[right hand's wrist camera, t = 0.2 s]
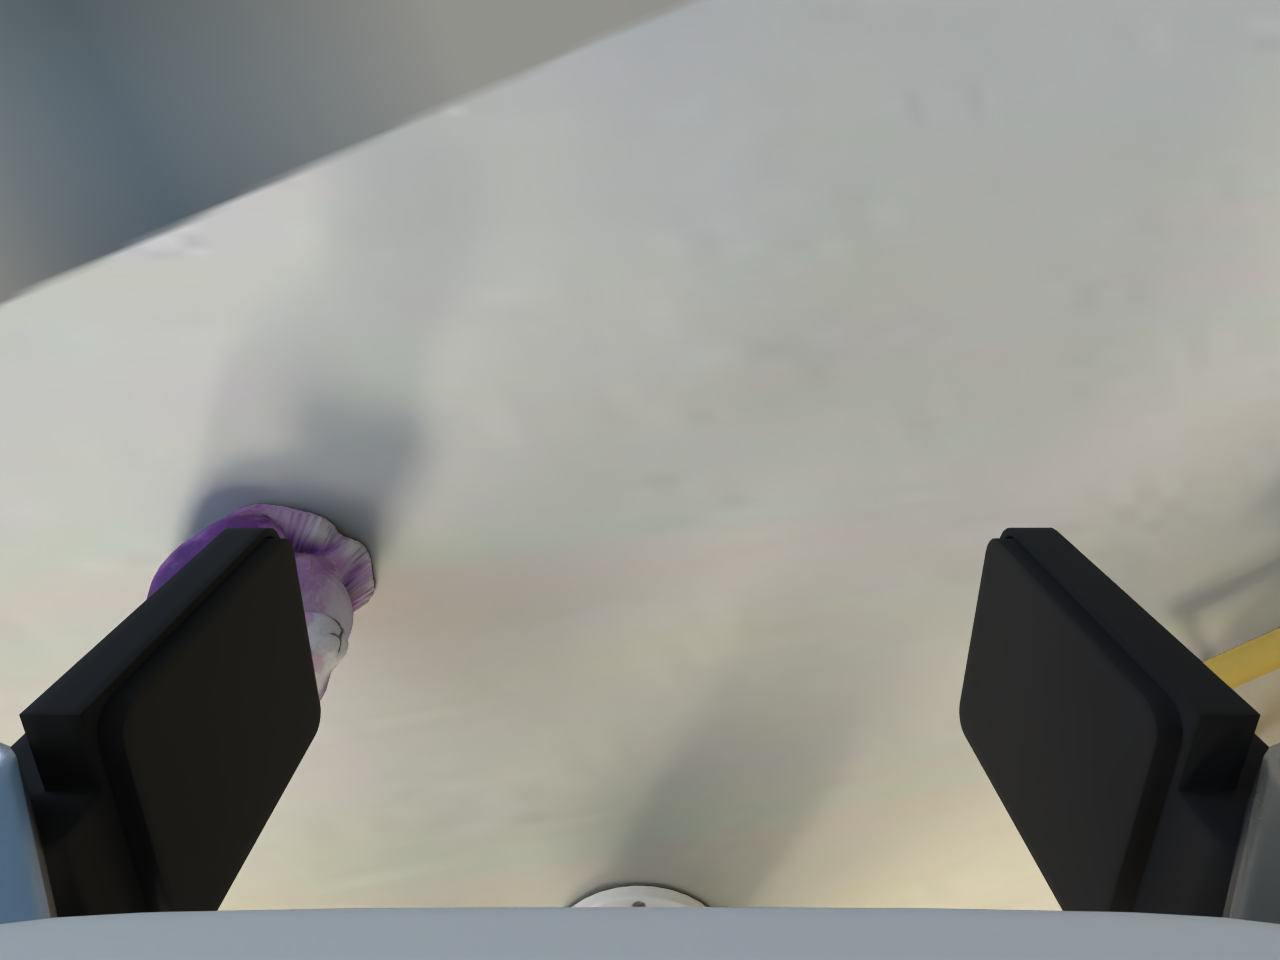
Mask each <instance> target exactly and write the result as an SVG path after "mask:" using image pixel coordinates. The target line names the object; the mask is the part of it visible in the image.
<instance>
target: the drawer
mask: <svg viewBox="0 0 1280 960" xmlns="http://www.w3.org/2000/svg"><path fill="white" fill-rule="evenodd" d="M1203 663H1204V664H1205V665H1206V666H1207V667H1208V668H1209V669H1211V670H1212V671H1213V672H1214V673H1215V674H1216V675H1217V676H1218V677H1219V678H1221V679H1222V680H1223V681H1224V682H1225V683H1226V684H1227V685H1228V686H1229V687H1230V688H1232V689H1233V690H1234V691H1235V692H1236V693H1237V694H1238V695H1239V696H1240V697H1242V698H1243V699H1244V700H1245V701H1246V702H1247V703H1248V704H1249V705H1250V706H1252V707H1253V708H1254V709H1255V710H1256V711H1257V712H1258V713H1259V714H1260V718H1259V721H1258V724H1257V727H1256V730H1255V734H1256V735H1257V736H1258V737H1259V738H1260V739H1261V740H1262V741H1263V742H1264V743H1265V744H1267V745H1268V746H1269V747H1270V746H1273V745H1275V744H1278V743H1280V628H1278V629H1275V630H1273V631H1271V632H1269V633H1266V634H1264V635H1262V636H1260V637H1258V638H1255V639H1253V640H1251V641H1249V642H1246V643H1244V644H1242V645H1240V646H1238V647H1235V648H1233V649H1231V650H1229V651H1226V652H1224V653H1222V654H1220V655H1217V656H1215V657H1213V658H1211V659H1209V660H1206V661H1204V662H1203Z"/></svg>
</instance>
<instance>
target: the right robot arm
mask: <svg viewBox="0 0 1280 960" xmlns="http://www.w3.org/2000/svg"><path fill="white" fill-rule="evenodd" d="M320 714H321V708H320V700H319V694H318V688H317V682H316V677H315V671H314V665H313V659H312V653H311V647H310V642H309V636H308V630H307V624H306V618H305V612H304V607H303V601H302V595H301V589H300V583H299V577H298V572H297V566H296V560H295V554H294V549H293V546H292V544H291V542H290V541H289V540H288V539H285V538H280V537H279V535H278V533H277V531H276V530H274V529H273V528H227V529H225V530H224V531H222V532H221V533H220V534H219V535H218V536H217V537H216V538H215V539H214V540H212V541H211V542H210V543H209V544H208V545H207V546H206V547H205V548H204V549H202V550H201V551H200V552H199V553H198V554H197V555H196V556H195V557H194V558H192V559H191V560H190V561H189V562H188V563H187V564H186V565H185V566H184V567H182V568H181V569H180V570H179V571H178V572H177V573H176V574H175V575H174V576H173V577H171V578H170V579H169V580H168V581H167V582H166V583H165V584H164V585H163V586H161V587H160V588H159V589H158V590H157V591H156V592H155V593H154V594H153V595H151V596H150V597H149V598H148V599H147V600H146V601H145V602H144V603H143V604H141V605H140V606H139V607H138V608H137V609H136V610H135V611H134V612H133V613H132V614H130V615H129V616H128V617H127V618H126V619H125V620H124V621H123V622H122V623H120V624H119V625H118V626H117V627H116V628H115V629H114V630H113V631H112V632H110V633H109V634H108V635H107V636H106V637H105V638H104V639H103V640H102V641H100V642H99V643H98V644H97V645H96V646H95V647H94V648H93V649H92V650H91V651H89V652H88V653H87V654H86V655H85V656H84V657H83V658H82V659H81V660H79V661H78V662H77V663H76V664H75V665H74V666H73V667H72V668H71V669H69V670H68V671H67V672H66V673H65V674H64V675H63V676H62V677H61V678H59V679H58V680H57V681H56V682H55V683H54V684H53V685H52V686H51V687H50V688H48V689H47V690H46V691H45V692H44V693H43V694H42V695H41V696H40V697H38V698H37V699H36V700H35V701H34V702H33V703H32V704H31V705H30V706H28V707H27V708H26V709H25V710H24V711H23V712H22V713H21V714H20V718H21V721H22V724H23V727H24V730H25V734H24V735H23V736H22V737H21V738H20V739H19V740H18V741H17V742H16V743H15V744H13V745H12V746H11V747H10V746H7V745H5V744H2V743H0V960H1280V743H1278V744H1275V745H1273V746H1270V747H1269V746H1268V745H1267V744H1265V743H1264V742H1263V741H1262V740H1261V739H1260V738H1259V737H1258V736H1257V735H1256V734H1255V730H1256V727H1257V724H1258V721H1259V718H1260V714H1259V713H1258V712H1257V711H1256V710H1255V709H1254V708H1253V707H1252V706H1250V705H1249V704H1248V703H1247V702H1246V701H1245V700H1244V699H1243V698H1242V697H1240V696H1239V695H1238V694H1237V693H1236V692H1235V691H1234V690H1233V689H1232V688H1230V687H1229V686H1228V685H1227V684H1226V683H1225V682H1224V681H1223V680H1222V679H1221V678H1219V677H1218V676H1217V675H1216V674H1215V673H1214V672H1213V671H1212V670H1211V669H1209V668H1208V667H1207V666H1206V665H1205V664H1204V663H1203V662H1202V661H1201V660H1199V659H1198V658H1197V657H1196V656H1195V655H1194V654H1193V653H1192V652H1191V651H1189V650H1188V649H1187V648H1186V647H1185V646H1184V645H1183V644H1182V643H1181V642H1180V641H1178V640H1177V639H1176V638H1175V637H1174V636H1173V635H1172V634H1171V633H1170V632H1168V631H1167V630H1166V629H1165V628H1164V627H1163V626H1162V625H1161V624H1160V623H1158V622H1157V621H1156V620H1155V619H1154V618H1153V617H1152V616H1151V615H1150V614H1148V613H1147V612H1146V611H1145V610H1144V609H1143V608H1142V607H1141V606H1140V605H1139V604H1137V603H1136V602H1135V601H1134V600H1133V599H1132V598H1131V597H1130V596H1129V595H1127V594H1126V593H1125V592H1124V591H1123V590H1122V589H1121V588H1120V587H1119V586H1117V585H1116V584H1115V583H1114V582H1113V581H1112V580H1111V579H1110V578H1109V577H1107V576H1106V575H1105V574H1104V573H1103V572H1102V571H1101V570H1100V569H1099V568H1098V567H1096V566H1095V565H1094V564H1093V563H1092V562H1091V561H1090V560H1089V559H1088V558H1086V557H1085V556H1084V555H1083V554H1082V553H1081V552H1080V551H1079V550H1078V549H1076V548H1075V547H1074V546H1073V545H1072V544H1071V543H1070V542H1069V541H1068V540H1066V539H1065V538H1064V537H1063V536H1062V535H1061V534H1060V533H1059V532H1058V531H1056V530H1055V529H1053V528H1007V529H1006V530H1004V531H1003V533H1002V535H1001V537H1000V538H995V539H992V540H991V541H990V542H989V544H988V546H987V549H986V554H985V560H984V566H983V572H982V577H981V583H980V589H979V595H978V601H977V607H976V612H975V618H974V624H973V630H972V636H971V642H970V647H969V653H968V659H967V665H966V671H965V677H964V682H963V688H962V694H961V700H960V708H959V714H960V723H961V727H962V730H963V732H964V735H965V737H966V738H967V740H968V742H969V744H970V746H971V747H972V749H973V751H974V753H975V755H976V756H977V758H978V760H979V762H980V763H981V765H982V767H983V769H984V771H985V772H986V774H987V776H988V778H989V780H990V781H991V783H992V785H993V787H994V788H995V790H996V792H997V794H998V796H999V797H1000V799H1001V801H1002V803H1003V805H1004V806H1005V808H1006V810H1007V812H1008V814H1009V815H1010V817H1011V819H1012V821H1013V822H1014V824H1015V826H1016V828H1017V830H1018V831H1019V833H1020V835H1021V837H1022V839H1023V840H1024V842H1025V844H1026V846H1027V847H1028V849H1029V851H1030V853H1031V855H1032V856H1033V858H1034V860H1035V862H1036V864H1037V865H1038V867H1039V869H1040V871H1041V873H1042V874H1043V876H1044V878H1045V880H1046V881H1047V883H1048V885H1049V887H1050V889H1051V890H1052V892H1053V894H1054V896H1055V898H1056V899H1057V901H1058V903H1059V905H1060V906H1061V908H1062V910H1063V911H1040V910H988V909H936V908H770V907H706V906H704V905H703V904H702V903H700V902H698V901H697V900H695V899H693V898H691V897H689V896H687V895H685V894H682V893H679V892H676V891H673V890H670V889H665V888H659V887H654V886H627V887H618V888H613V889H609V890H606V891H602V892H599V893H596V894H594V895H592V896H589V897H587V898H585V899H583V900H581V901H580V902H578V903H577V904H575V905H574V906H572V907H509V908H344V909H292V910H240V911H217V910H218V908H219V906H220V905H221V903H222V901H223V899H224V898H225V896H226V894H227V892H228V890H229V889H230V887H231V885H232V883H233V881H234V880H235V878H236V876H237V874H238V873H239V871H240V869H241V867H242V865H243V864H244V862H245V860H246V858H247V856H248V855H249V853H250V851H251V849H252V847H253V846H254V844H255V842H256V840H257V839H258V837H259V835H260V833H261V831H262V830H263V828H264V826H265V824H266V822H267V821H268V819H269V817H270V815H271V814H272V812H273V810H274V808H275V806H276V805H277V803H278V801H279V799H280V797H281V796H282V794H283V792H284V790H285V788H286V787H287V785H288V783H289V781H290V780H291V778H292V776H293V774H294V772H295V771H296V769H297V767H298V765H299V763H300V762H301V760H302V758H303V756H304V754H305V753H306V751H307V749H308V747H309V746H310V744H311V742H312V740H313V738H314V737H315V735H316V732H317V730H318V727H319V723H320Z"/></svg>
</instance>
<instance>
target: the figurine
mask: <svg viewBox="0 0 1280 960" xmlns="http://www.w3.org/2000/svg"><path fill="white" fill-rule="evenodd" d="M227 528H273V529H274V530H276V531H277V533H278V535H279V537H280V538H285V539H288V540H289V541H290V542H291V544H292V546H293V549H294V554H295V560H296V566H297V572H298V577H299V583H300V589H301V595H302V601H303V607H304V612H305V618H306V624H307V630H308V636H309V642H310V647H311V653H312V659H313V665H314V671H315V677H316V682H317V688H318V694H319V700H321V699H322V697H323V695H324V693H325V691H326V688H327V685H328V681H329V678H330V674H331V672H332V671H333V669H334V668H335V667H336V666H337V664H338V663H339V662H340V661H341V659H342V658H343V657H344V656H345V654H346V651H347V648H348V637H349V635H350V633H351V629H352V625H353V612H354V611H356V610H357V609H359V608H360V607H362V606H363V605H365V604H366V603H367V602H368V601H369V599H370V598H371V596H372V595H373V590H374V580H373V579H372V578H373V575H372V573H373V572H372V567H371V565H372V563H371V559H370V557H369V553H368V552H367V550H366V548H365V547H364V546H363V545H362V544H361V543H360V542H358V541H355V540H353V539H351V538H349V537H344V536H343V535H341V534H340V533H339V532H338V531H337V530H336V528H335V526H334V525H333V524H332V523H331V522H330V521H328V520H327V519H325V518H324V517H322V516H318V515H316V514H314V513H310V512H303V511H302V510H300V509H293V508H289V507H285V506H277V505H272V504H271V505H267V504H261V503H257V504H253V505H249V506H246V507H242V508H240V509H238V510H236V511H234V512H232V513H231V514H230V515H228V516H227V517H225V518H223V519H221V520H219V521H217V522H215V523H213V524H212V525H210V526H209V527H207V528H206V529H204V530H203V531H201V532H200V533H199V534H197V535H196V536H194V537H192V538H191V539H189V540H187V541H186V542H184V543H183V544H181V545H180V546H179V547H178V548H177V549H176V550H175V551H174V552H173V553H172V554H171V555H170V556H169V557H168V558H167V559H166V560H165V561H164V562H163V564H162V565H161V566H160V567H159V569H158V571H157V573H156V574H155V576H154V578H153V580H152V583H151V586H150V589H149V593H148V596H147V599H148V598H149V597H150V596H151V595H153V594H154V593H155V592H156V591H157V590H158V589H159V588H160V587H161V586H163V585H164V584H165V583H166V582H167V581H168V580H169V579H170V578H171V577H173V576H174V575H175V574H176V573H177V572H178V571H179V570H180V569H181V568H182V567H184V566H185V565H186V564H187V563H188V562H189V561H190V560H191V559H192V558H194V557H195V556H196V555H197V554H198V553H199V552H200V551H201V550H202V549H204V548H205V547H206V546H207V545H208V544H209V543H210V542H211V541H212V540H214V539H215V538H216V537H217V536H218V535H219V534H220V533H221V532H222V531H224V530H225V529H227Z"/></svg>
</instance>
